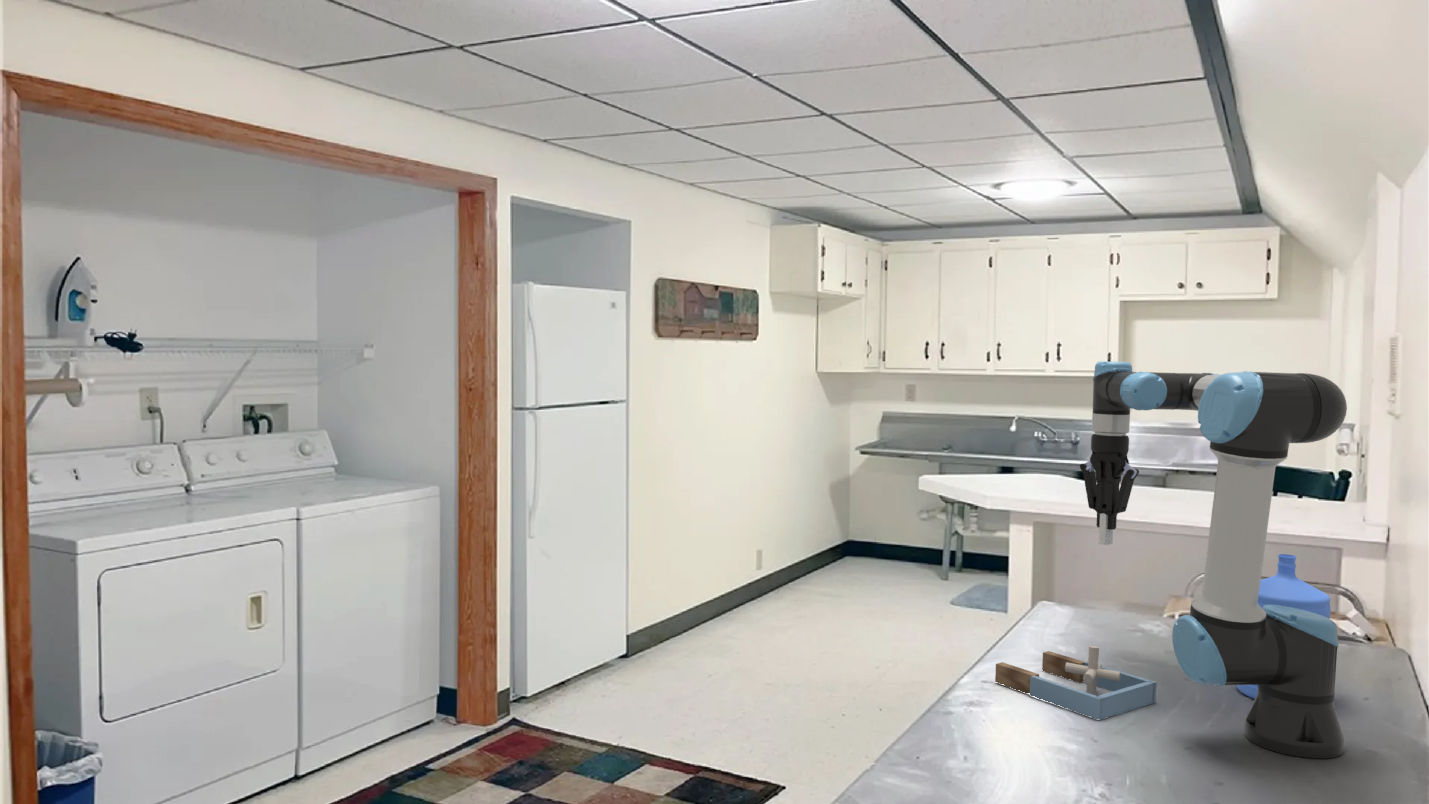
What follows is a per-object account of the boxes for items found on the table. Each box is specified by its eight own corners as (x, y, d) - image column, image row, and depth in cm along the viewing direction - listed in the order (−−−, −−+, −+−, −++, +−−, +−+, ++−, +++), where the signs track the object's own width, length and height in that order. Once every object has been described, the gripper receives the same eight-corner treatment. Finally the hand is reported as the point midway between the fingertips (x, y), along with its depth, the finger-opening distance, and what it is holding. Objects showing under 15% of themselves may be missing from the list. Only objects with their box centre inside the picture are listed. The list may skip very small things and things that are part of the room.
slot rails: (1085, 681, 212) (1085, 662, 212) (1031, 696, 203) (1032, 675, 202) (1048, 669, 220) (1048, 651, 220) (995, 683, 210) (995, 663, 210)
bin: (1155, 702, 200) (1156, 682, 200) (1098, 720, 190) (1099, 699, 190) (1087, 680, 213) (1088, 661, 213) (1029, 696, 202) (1030, 676, 202)
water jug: (1338, 712, 197) (1346, 566, 196) (1249, 704, 201) (1256, 561, 199) (1308, 686, 213) (1316, 550, 211) (1226, 679, 216) (1232, 546, 214)
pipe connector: (1113, 709, 196) (1116, 657, 195) (1059, 699, 201) (1062, 648, 200) (1122, 695, 204) (1125, 645, 204) (1070, 685, 209) (1072, 636, 209)
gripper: (1148, 435, 218) (1143, 547, 219) (1094, 430, 229) (1089, 537, 230) (1127, 437, 214) (1122, 550, 215) (1073, 431, 224) (1068, 540, 225)
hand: (1105, 543), depth 222 cm, fingers closed
